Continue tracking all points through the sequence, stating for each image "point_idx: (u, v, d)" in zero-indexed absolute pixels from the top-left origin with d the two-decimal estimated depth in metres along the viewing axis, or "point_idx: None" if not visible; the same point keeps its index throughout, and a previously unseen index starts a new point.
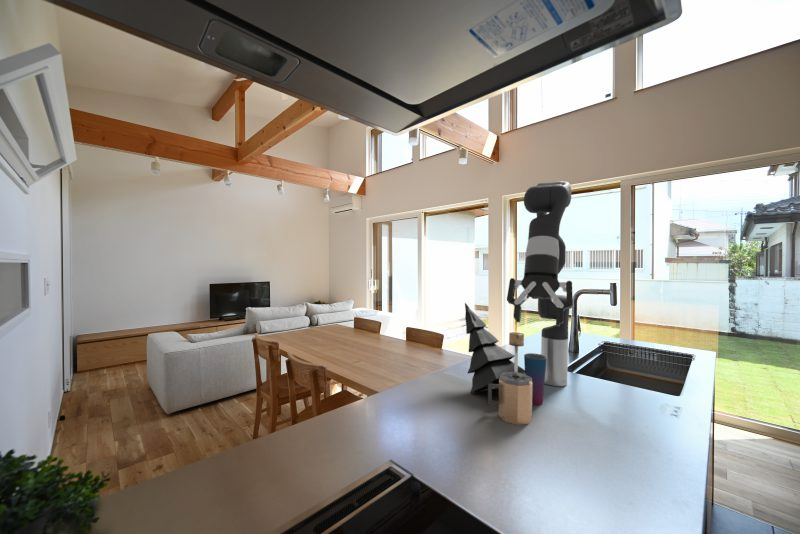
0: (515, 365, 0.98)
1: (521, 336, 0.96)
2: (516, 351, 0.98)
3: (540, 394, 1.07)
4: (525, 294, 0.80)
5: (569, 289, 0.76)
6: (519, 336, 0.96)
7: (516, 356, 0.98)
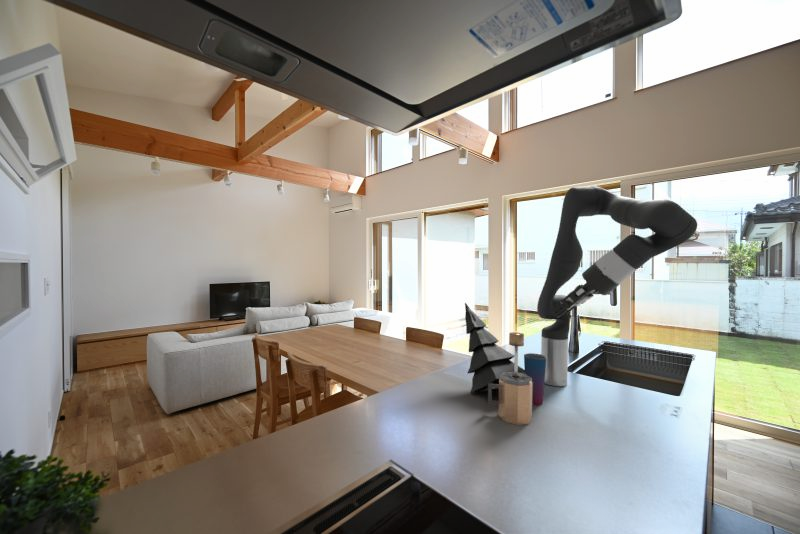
0: (515, 365, 0.98)
1: (521, 336, 0.96)
2: (516, 351, 0.98)
3: (540, 394, 1.07)
4: (579, 304, 0.85)
5: None
6: (519, 336, 0.96)
7: (516, 356, 0.98)
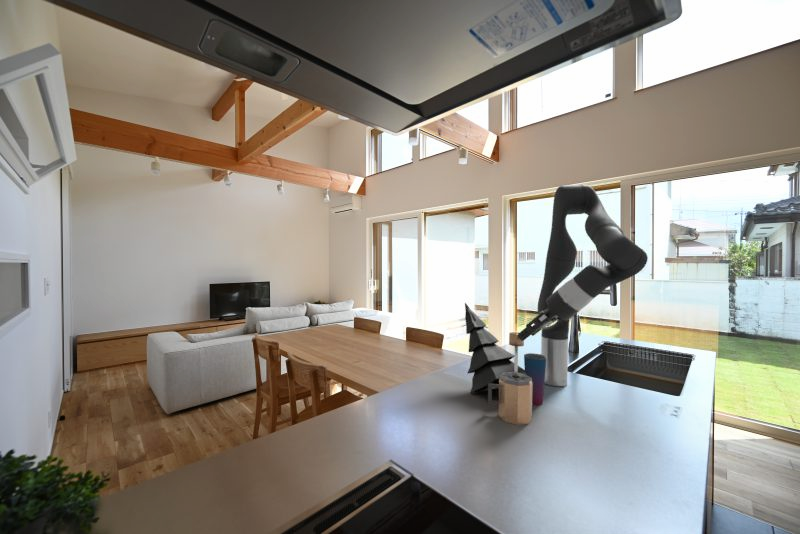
0: (515, 365, 0.98)
1: None
2: (516, 351, 0.98)
3: (540, 394, 1.07)
4: (543, 328, 0.91)
5: (556, 318, 0.97)
6: None
7: (516, 356, 0.98)
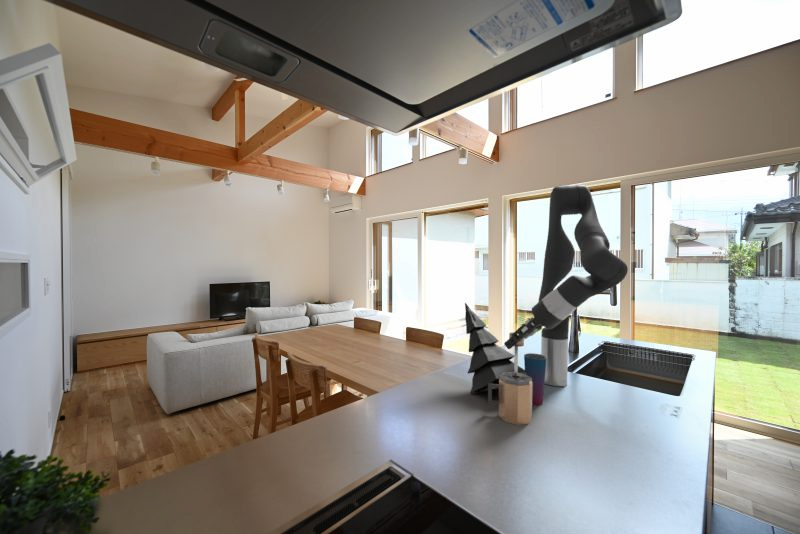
0: (515, 365, 0.98)
1: None
2: (516, 351, 0.98)
3: (540, 394, 1.07)
4: (528, 336, 0.94)
5: None
6: (519, 336, 0.96)
7: (516, 356, 0.98)
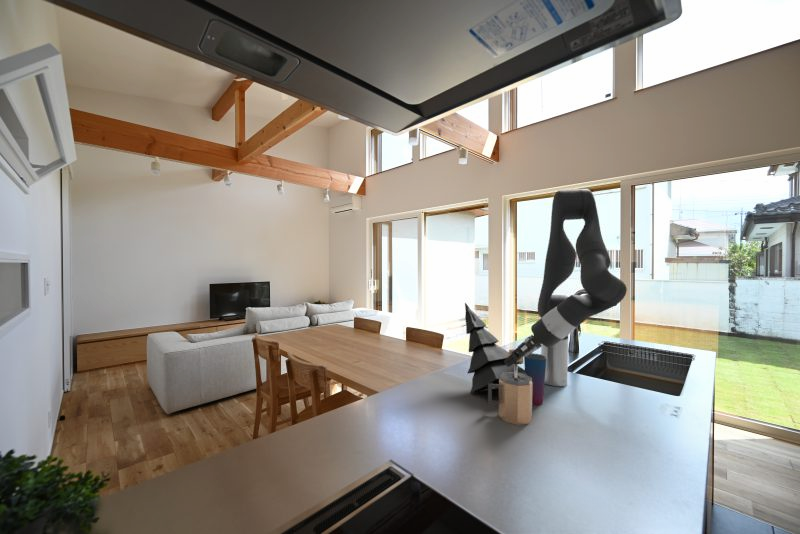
0: None
1: None
2: (516, 368, 0.98)
3: (540, 394, 1.07)
4: (528, 354, 0.94)
5: None
6: None
7: (516, 373, 0.98)
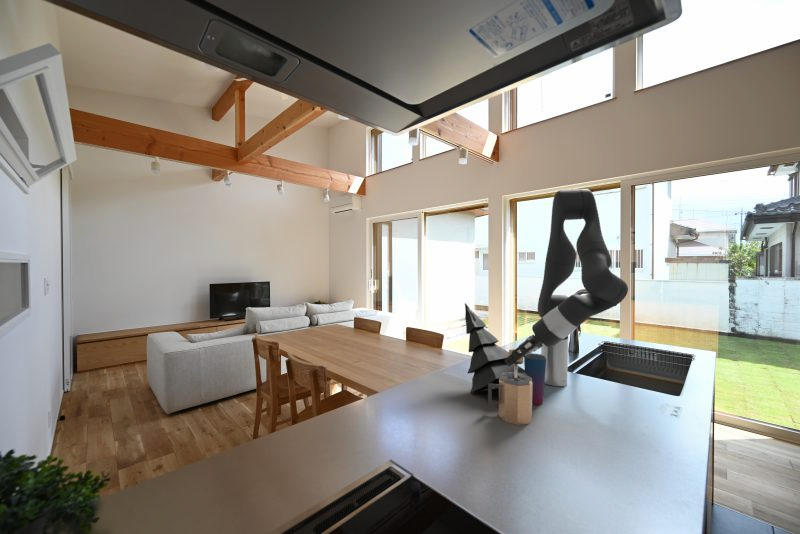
0: None
1: None
2: (516, 368, 0.98)
3: (540, 394, 1.07)
4: (528, 354, 0.93)
5: (543, 342, 0.99)
6: None
7: (516, 373, 0.98)
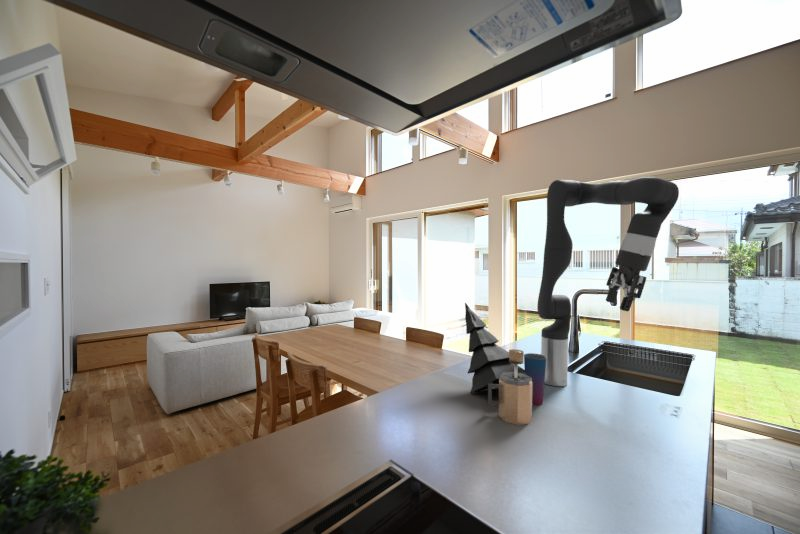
0: None
1: (521, 354, 0.96)
2: (516, 368, 0.98)
3: (540, 394, 1.07)
4: None
5: None
6: (519, 354, 0.96)
7: (516, 373, 0.98)
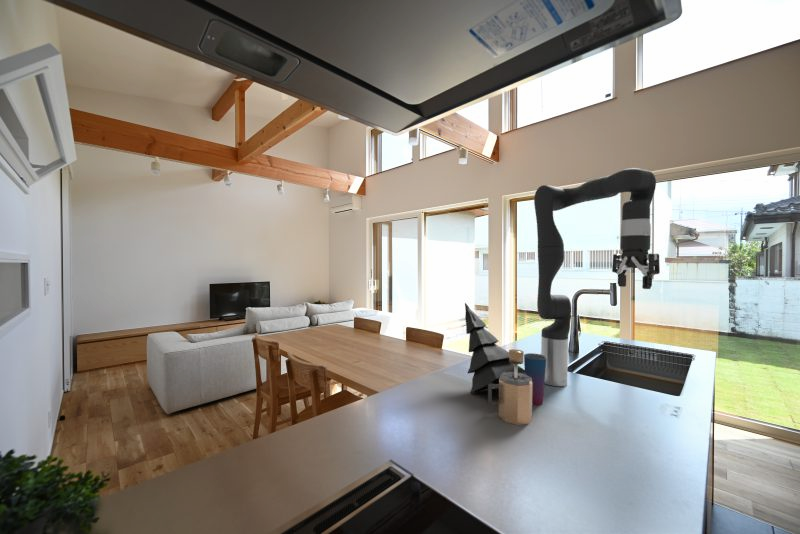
0: None
1: (521, 354, 0.96)
2: (516, 368, 0.98)
3: (540, 394, 1.07)
4: None
5: None
6: (519, 354, 0.96)
7: (516, 373, 0.98)
